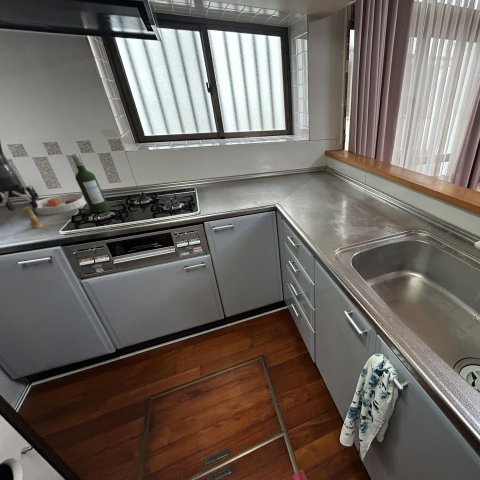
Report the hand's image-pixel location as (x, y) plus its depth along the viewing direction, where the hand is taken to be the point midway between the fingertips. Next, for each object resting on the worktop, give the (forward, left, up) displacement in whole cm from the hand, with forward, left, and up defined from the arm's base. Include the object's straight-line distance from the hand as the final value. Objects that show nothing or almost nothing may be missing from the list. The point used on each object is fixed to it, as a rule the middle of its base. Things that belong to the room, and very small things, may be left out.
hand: (24, 209), depth 124 cm
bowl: (+1, +24, -9) cm, 26 cm away
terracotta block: (-4, +28, -9) cm, 29 cm away
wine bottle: (+23, +13, -10) cm, 28 cm away
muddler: (+1, 0, -9) cm, 9 cm away
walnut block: (+7, +23, -9) cm, 25 cm away
